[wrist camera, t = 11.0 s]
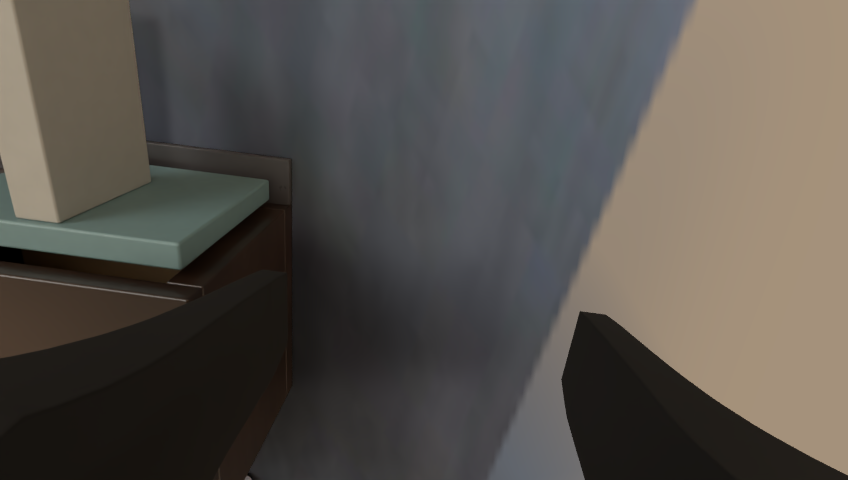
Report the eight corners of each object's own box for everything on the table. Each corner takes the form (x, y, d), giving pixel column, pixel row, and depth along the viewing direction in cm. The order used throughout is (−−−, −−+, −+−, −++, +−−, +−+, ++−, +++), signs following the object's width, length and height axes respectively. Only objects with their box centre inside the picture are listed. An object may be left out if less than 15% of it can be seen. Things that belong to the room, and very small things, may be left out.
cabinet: (292, 385, 22) (213, 543, 15) (-36, 339, 23) (-257, 470, 16) (291, 158, 18) (181, 233, 11) (-111, 108, 19) (-459, 149, 12)
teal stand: (270, 199, 18) (181, 271, 12) (70, 174, 18) (-105, 233, 13) (266, 6, 15) (151, -14, 10) (33, -21, 16) (-208, -54, 10)
